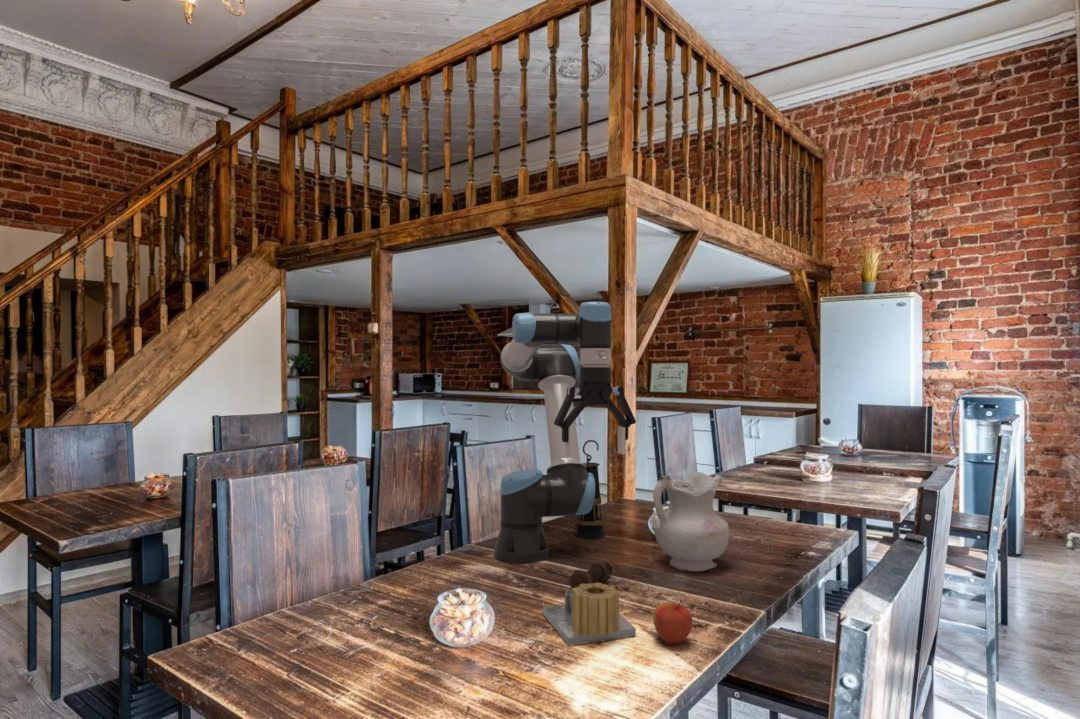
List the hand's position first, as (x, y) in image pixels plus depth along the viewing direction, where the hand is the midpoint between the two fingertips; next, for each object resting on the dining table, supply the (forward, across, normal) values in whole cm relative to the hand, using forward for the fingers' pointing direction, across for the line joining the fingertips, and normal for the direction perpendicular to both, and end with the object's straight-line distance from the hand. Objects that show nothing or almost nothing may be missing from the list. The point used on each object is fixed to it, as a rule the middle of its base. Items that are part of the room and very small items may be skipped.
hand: (595, 455), depth 150 cm
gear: (+30, -10, -24) cm, 40 cm away
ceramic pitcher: (+32, +30, +8) cm, 45 cm away
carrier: (+32, -10, -20) cm, 39 cm away
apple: (+32, +3, -32) cm, 45 cm away
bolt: (+32, +1, +2) cm, 32 cm away
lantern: (+32, +16, +43) cm, 56 cm away
